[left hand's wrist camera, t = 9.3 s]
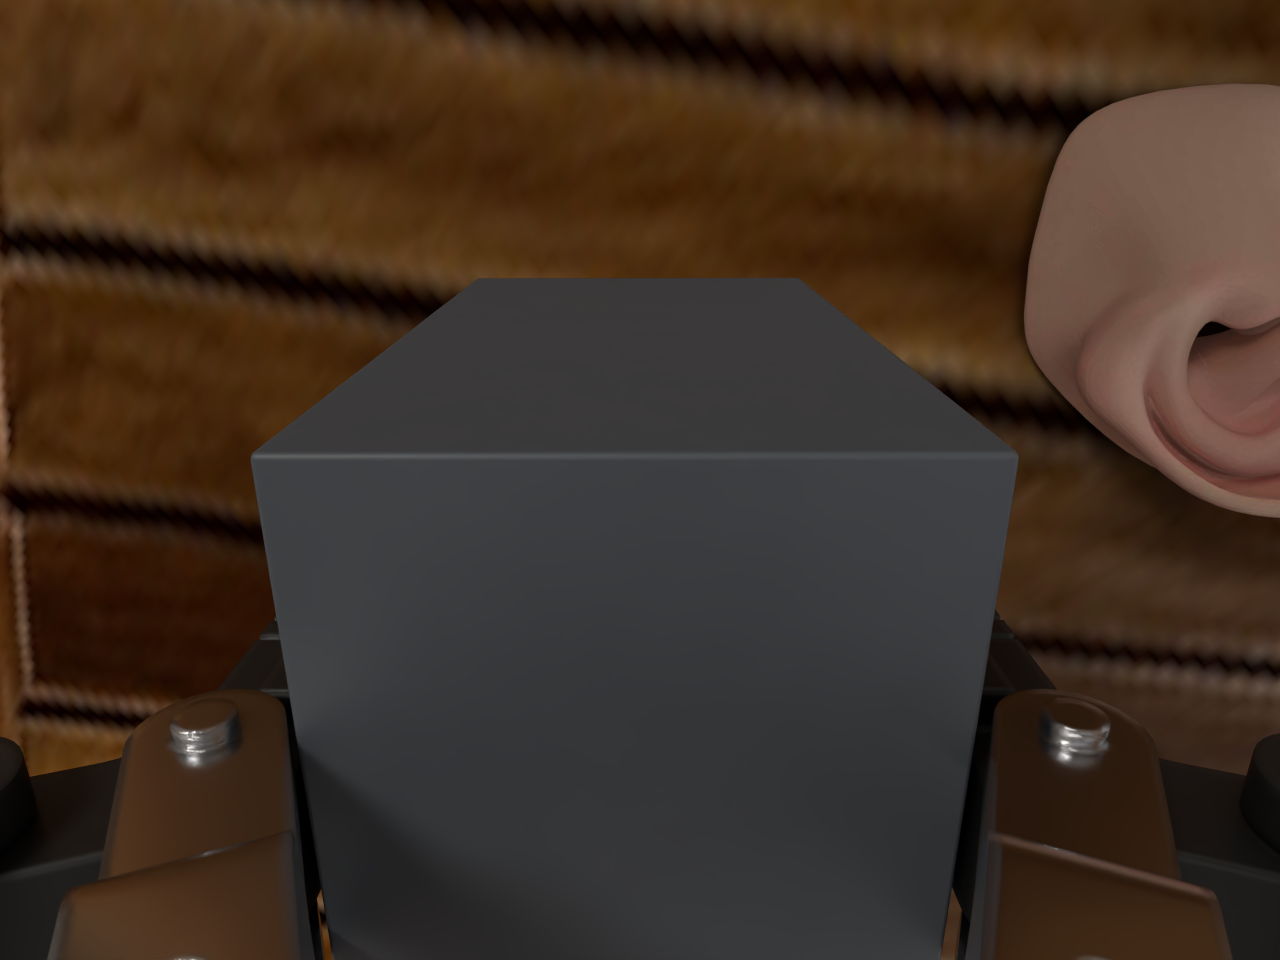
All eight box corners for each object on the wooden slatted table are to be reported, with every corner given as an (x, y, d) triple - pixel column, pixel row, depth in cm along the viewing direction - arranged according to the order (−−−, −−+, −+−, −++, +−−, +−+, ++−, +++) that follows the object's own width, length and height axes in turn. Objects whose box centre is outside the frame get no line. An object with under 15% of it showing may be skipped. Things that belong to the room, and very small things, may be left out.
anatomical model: (1040, 150, 22) (1533, -36, 20) (982, 152, 25) (1394, -5, 24) (1133, 601, 26) (1547, 472, 25) (1071, 545, 30) (1426, 431, 28)
